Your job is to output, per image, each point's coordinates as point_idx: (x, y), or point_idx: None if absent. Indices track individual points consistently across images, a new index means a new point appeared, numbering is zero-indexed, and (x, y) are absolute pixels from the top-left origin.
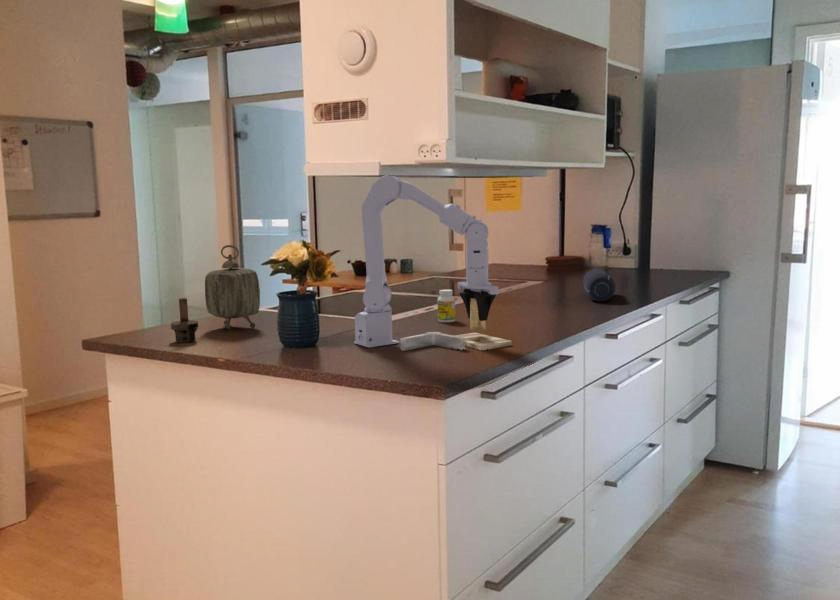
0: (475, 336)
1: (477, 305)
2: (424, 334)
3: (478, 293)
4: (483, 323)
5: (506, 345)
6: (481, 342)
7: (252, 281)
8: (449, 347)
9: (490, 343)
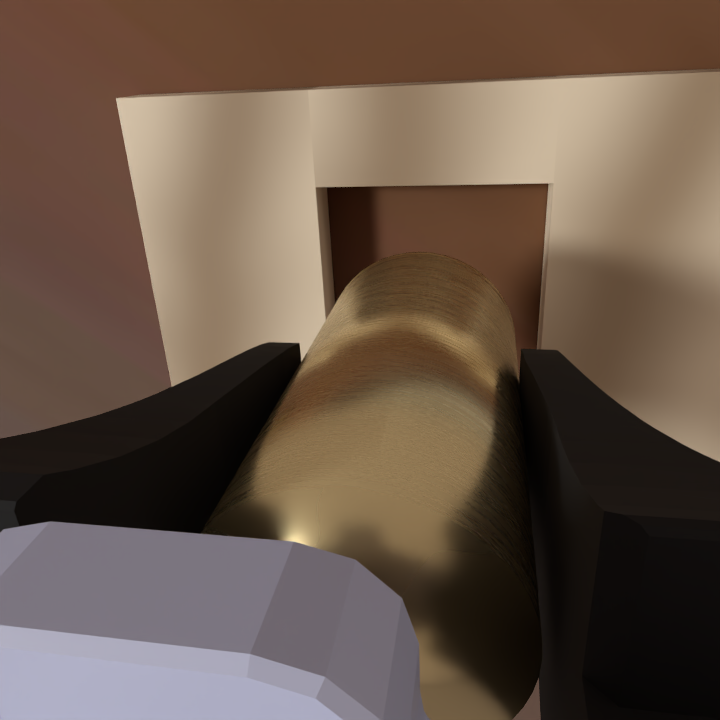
0: (310, 236)
1: (541, 663)
2: None
3: (87, 521)
4: (516, 361)
5: None
6: (597, 381)
7: None
8: None
9: (707, 351)
